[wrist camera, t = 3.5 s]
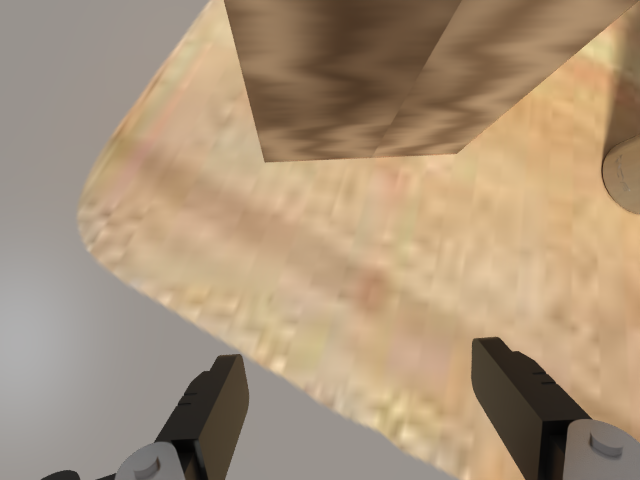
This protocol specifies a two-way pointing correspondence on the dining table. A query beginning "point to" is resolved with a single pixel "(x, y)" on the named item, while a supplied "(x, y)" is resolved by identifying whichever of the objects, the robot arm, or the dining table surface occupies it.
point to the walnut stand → (398, 69)
